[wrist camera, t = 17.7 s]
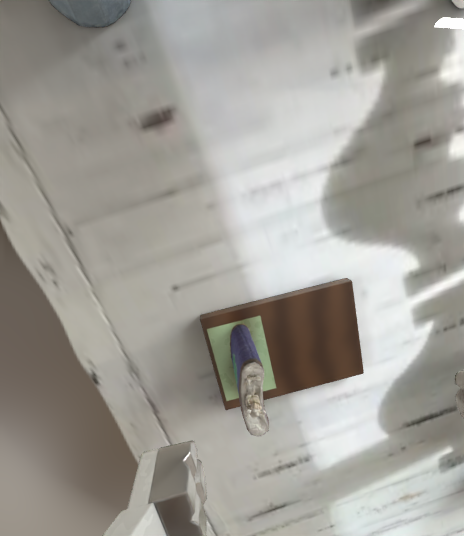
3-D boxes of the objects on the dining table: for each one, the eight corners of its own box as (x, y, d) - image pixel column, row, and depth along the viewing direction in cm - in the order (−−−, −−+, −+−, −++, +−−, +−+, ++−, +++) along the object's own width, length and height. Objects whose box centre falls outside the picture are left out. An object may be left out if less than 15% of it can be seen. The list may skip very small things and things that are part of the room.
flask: (256, 383, 40) (274, 450, 29) (234, 387, 39) (245, 455, 29) (249, 321, 37) (266, 369, 27) (226, 324, 37) (235, 374, 27)
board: (346, 277, 39) (352, 281, 37) (358, 367, 42) (364, 374, 41) (200, 314, 38) (200, 319, 37) (224, 403, 42) (225, 411, 40)
